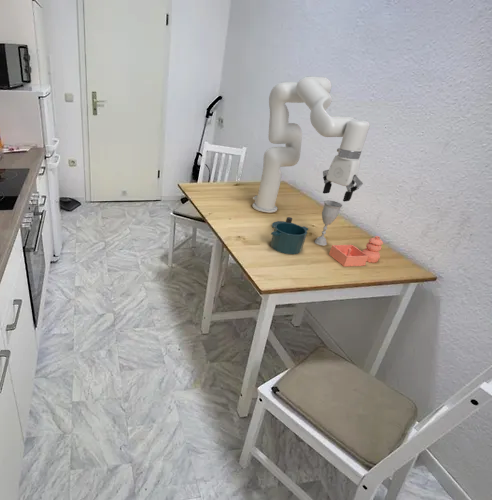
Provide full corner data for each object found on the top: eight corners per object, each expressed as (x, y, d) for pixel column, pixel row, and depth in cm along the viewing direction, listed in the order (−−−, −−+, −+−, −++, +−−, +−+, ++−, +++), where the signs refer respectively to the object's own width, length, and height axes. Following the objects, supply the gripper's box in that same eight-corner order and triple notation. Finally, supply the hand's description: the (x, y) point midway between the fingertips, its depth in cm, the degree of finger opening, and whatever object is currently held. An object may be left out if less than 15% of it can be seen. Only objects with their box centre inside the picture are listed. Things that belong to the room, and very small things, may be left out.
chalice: (308, 238, 159) (320, 200, 150) (323, 238, 159) (336, 200, 151) (317, 246, 152) (330, 206, 144) (332, 246, 153) (346, 207, 144)
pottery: (343, 266, 138) (352, 243, 134) (328, 254, 146) (336, 232, 142) (384, 264, 141) (394, 242, 137) (368, 252, 149) (376, 231, 145)
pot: (259, 243, 152) (263, 225, 148) (290, 237, 159) (295, 220, 155) (280, 257, 142) (285, 238, 138) (312, 250, 149) (318, 231, 145)
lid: (265, 225, 169) (268, 214, 167) (286, 221, 174) (289, 211, 172) (286, 237, 159) (289, 225, 156) (308, 233, 164) (311, 221, 161)
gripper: (323, 149, 143) (312, 191, 151) (362, 160, 129) (348, 205, 137) (336, 148, 146) (324, 189, 154) (376, 159, 132) (361, 203, 140)
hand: (335, 196), depth 146 cm, fingers open, 9 cm apart
